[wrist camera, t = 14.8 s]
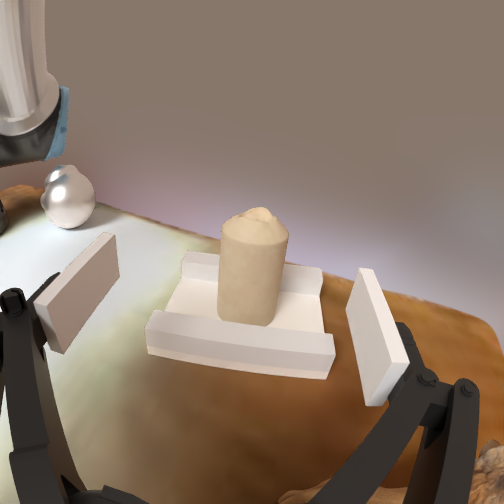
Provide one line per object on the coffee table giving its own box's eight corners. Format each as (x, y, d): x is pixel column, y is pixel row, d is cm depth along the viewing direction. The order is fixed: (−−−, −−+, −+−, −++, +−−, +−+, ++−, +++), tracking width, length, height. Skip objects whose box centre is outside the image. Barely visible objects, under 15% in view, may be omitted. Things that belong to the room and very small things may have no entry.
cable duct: (148, 353, 25) (144, 327, 23) (187, 273, 37) (187, 250, 35) (325, 379, 24) (335, 355, 23) (315, 290, 36) (320, 268, 35)
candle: (230, 289, 33) (238, 197, 28) (281, 304, 31) (298, 210, 27) (206, 319, 28) (210, 216, 24) (263, 338, 27) (281, 233, 22)
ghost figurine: (87, 210, 51) (84, 155, 46) (104, 228, 45) (100, 165, 40) (41, 222, 45) (34, 165, 40) (51, 243, 39) (42, 176, 34)
